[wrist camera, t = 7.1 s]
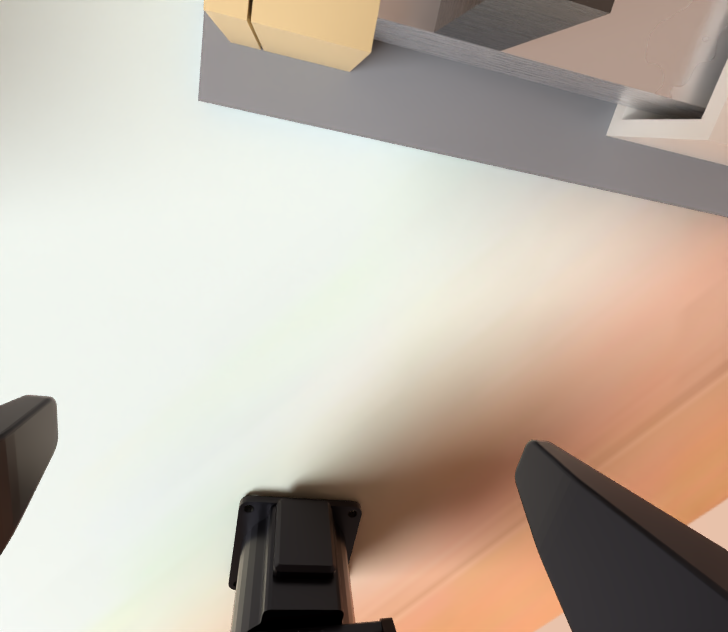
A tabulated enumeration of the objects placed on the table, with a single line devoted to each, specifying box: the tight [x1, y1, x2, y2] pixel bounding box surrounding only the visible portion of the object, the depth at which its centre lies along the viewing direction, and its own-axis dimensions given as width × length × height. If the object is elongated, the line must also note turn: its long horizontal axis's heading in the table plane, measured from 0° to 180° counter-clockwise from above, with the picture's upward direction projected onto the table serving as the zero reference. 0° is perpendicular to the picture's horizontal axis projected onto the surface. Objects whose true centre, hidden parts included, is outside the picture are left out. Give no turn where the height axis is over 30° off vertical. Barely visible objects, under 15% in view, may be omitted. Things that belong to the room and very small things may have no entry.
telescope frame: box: [198, 0, 728, 217], centre depth 15 cm, size 9×29×6 cm, turn 78°
